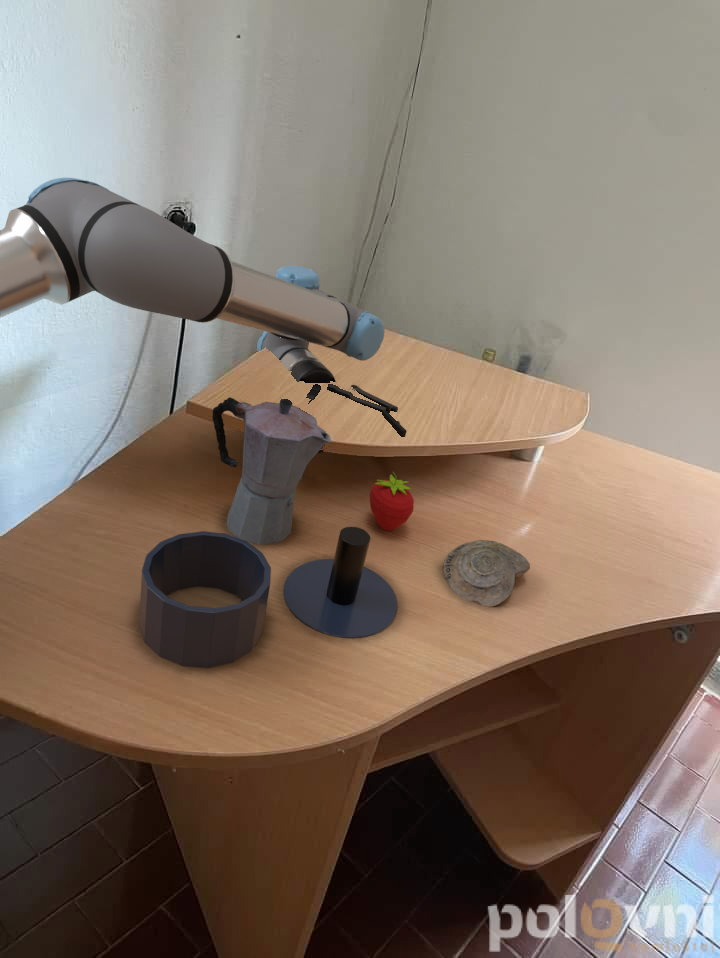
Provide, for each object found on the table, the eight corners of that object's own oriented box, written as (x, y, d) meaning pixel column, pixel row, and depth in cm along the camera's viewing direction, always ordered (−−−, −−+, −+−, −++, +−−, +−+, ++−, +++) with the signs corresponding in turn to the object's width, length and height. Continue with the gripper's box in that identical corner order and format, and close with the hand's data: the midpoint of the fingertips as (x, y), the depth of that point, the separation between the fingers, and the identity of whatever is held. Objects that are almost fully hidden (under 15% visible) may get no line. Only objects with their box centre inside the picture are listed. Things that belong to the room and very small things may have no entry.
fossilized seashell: (430, 550, 95) (462, 517, 91) (484, 565, 101) (516, 535, 97) (456, 615, 88) (492, 581, 84) (513, 627, 93) (549, 596, 90)
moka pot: (302, 565, 90) (329, 429, 79) (187, 536, 90) (199, 396, 80) (317, 525, 98) (343, 397, 88) (212, 498, 98) (226, 368, 88)
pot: (156, 686, 69) (160, 623, 65) (128, 600, 78) (130, 539, 74) (278, 658, 75) (289, 599, 71) (239, 582, 84) (246, 525, 80)
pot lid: (310, 655, 76) (325, 584, 71) (265, 575, 86) (276, 507, 81) (416, 631, 83) (437, 564, 78) (363, 559, 93) (379, 496, 88)
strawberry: (376, 549, 96) (391, 489, 91) (354, 518, 101) (368, 459, 96) (413, 545, 98) (430, 486, 93) (390, 514, 104) (405, 457, 99)
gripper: (366, 397, 126) (427, 457, 110) (234, 402, 114) (281, 470, 98) (374, 358, 122) (439, 415, 107) (238, 359, 110) (289, 423, 95)
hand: (363, 441), depth 103 cm, fingers open, 13 cm apart
